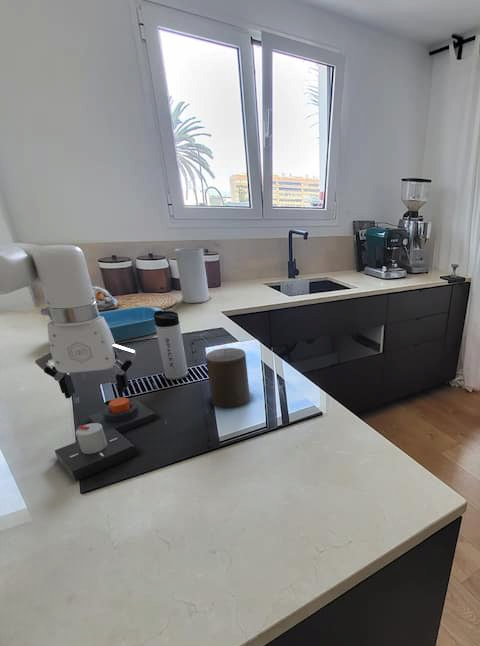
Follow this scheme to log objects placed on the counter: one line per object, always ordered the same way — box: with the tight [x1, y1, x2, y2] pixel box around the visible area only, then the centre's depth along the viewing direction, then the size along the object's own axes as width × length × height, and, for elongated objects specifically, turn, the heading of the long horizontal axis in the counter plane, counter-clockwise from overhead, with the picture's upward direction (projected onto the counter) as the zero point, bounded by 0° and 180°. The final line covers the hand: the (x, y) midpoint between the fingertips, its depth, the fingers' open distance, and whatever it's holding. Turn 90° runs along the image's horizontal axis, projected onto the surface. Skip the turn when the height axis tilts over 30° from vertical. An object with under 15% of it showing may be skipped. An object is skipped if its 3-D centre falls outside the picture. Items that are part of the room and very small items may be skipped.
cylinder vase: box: [174, 247, 210, 304], centre depth 194 cm, size 12×12×25 cm
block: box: [87, 399, 157, 434], centre depth 93 cm, size 11×10×4 cm
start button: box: [108, 397, 130, 413], centre depth 92 cm, size 4×4×2 cm
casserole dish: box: [99, 306, 164, 343], centre depth 148 cm, size 37×22×7 cm, turn 134°
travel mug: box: [154, 309, 189, 381], centre depth 113 cm, size 6×7×20 cm
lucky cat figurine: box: [92, 285, 120, 312], centre depth 177 cm, size 15×12×14 cm
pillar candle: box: [205, 347, 251, 409], centre depth 101 cm, size 10×10×15 cm
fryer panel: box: [54, 428, 137, 482], centre depth 80 cm, size 11×10×3 cm
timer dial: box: [75, 423, 107, 454], centre depth 78 cm, size 4×4×5 cm
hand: (97, 392), depth 81 cm, fingers open, 9 cm apart
